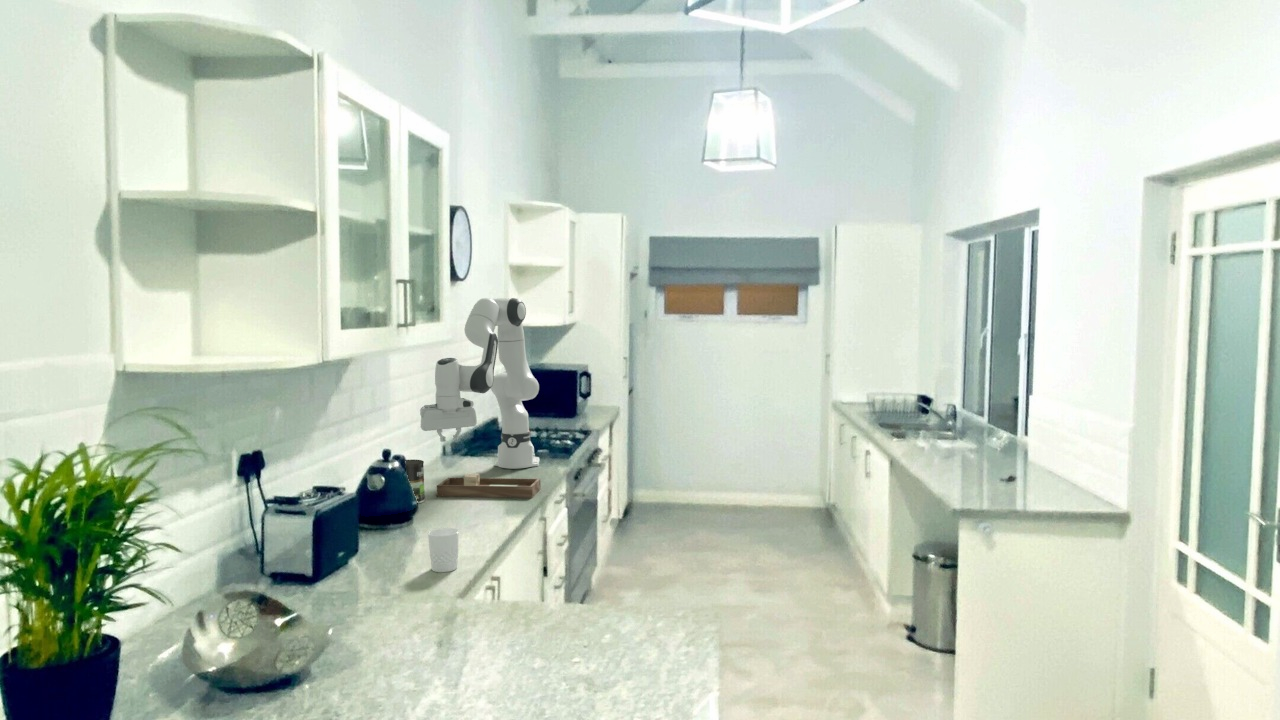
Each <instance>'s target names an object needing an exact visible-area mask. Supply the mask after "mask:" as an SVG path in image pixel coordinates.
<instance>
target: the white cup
mask: <svg viewBox="0 0 1280 720" xmlns="http://www.w3.org/2000/svg"><path fill="white" fill-rule="evenodd" d="M427 534H428V535H427V536H428V537H427V538H428V549H429V557H430V566H431V570H432V571H433V572H435V573H449V572H452V571H455V570H457V569H458V557H459V536H460V535H459V529H457V528H453V527H441V528H434V529H432V530H430V531H428V533H427Z"/></svg>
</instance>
